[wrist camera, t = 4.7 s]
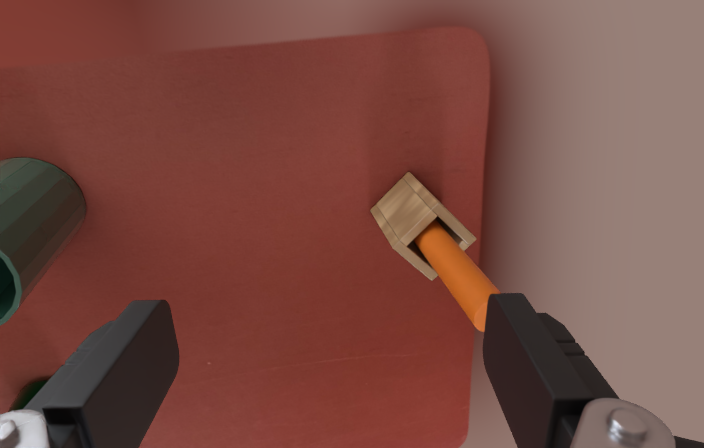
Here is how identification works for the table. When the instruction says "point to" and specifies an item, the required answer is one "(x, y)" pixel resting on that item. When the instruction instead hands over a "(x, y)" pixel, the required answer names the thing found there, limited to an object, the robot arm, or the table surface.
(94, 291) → the table surface
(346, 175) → the table surface
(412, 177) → the stand
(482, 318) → the orange rod
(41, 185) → the green cylindrical cup
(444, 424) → the table surface
